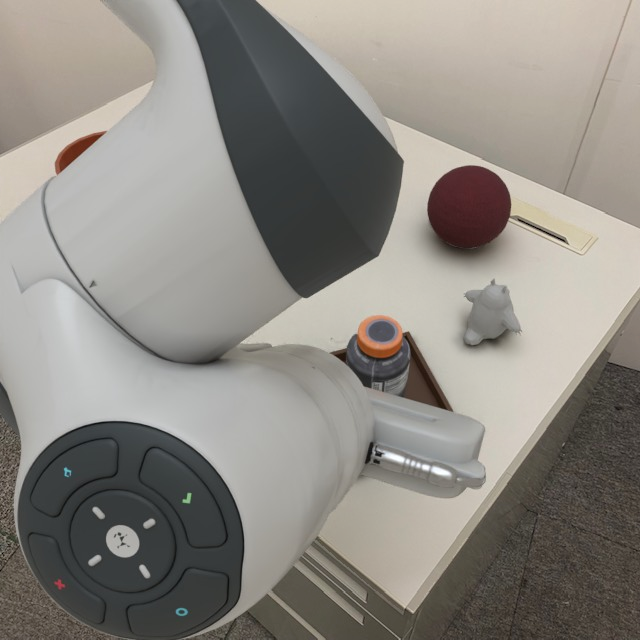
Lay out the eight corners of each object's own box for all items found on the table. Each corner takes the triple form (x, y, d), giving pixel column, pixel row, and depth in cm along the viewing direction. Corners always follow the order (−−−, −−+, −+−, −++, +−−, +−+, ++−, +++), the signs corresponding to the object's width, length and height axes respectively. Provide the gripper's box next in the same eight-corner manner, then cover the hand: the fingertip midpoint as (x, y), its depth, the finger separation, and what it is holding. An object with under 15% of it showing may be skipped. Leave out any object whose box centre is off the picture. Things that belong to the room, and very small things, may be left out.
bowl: (68, 224, 85) (57, 196, 81) (62, 167, 93) (52, 140, 90) (168, 203, 88) (162, 175, 84) (153, 150, 96) (147, 123, 92)
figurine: (528, 340, 71) (546, 292, 65) (494, 368, 69) (509, 320, 63) (472, 300, 75) (485, 251, 69) (438, 325, 73) (448, 276, 67)
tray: (335, 479, 60) (335, 469, 59) (294, 373, 68) (293, 361, 67) (460, 440, 63) (463, 429, 61) (407, 342, 71) (409, 330, 70)
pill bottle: (338, 383, 67) (340, 310, 58) (393, 373, 68) (403, 300, 59) (352, 432, 63) (356, 362, 55) (410, 421, 64) (423, 350, 55)
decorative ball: (452, 203, 87) (464, 138, 79) (517, 236, 82) (536, 171, 75) (407, 239, 82) (414, 175, 75) (472, 277, 78) (488, 212, 70)
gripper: (502, 430, 31) (496, 390, 44) (131, 323, 36) (227, 316, 49) (469, 552, 32) (473, 476, 45) (107, 431, 36) (209, 395, 50)
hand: (342, 392), depth 47 cm, fingers open, 8 cm apart
